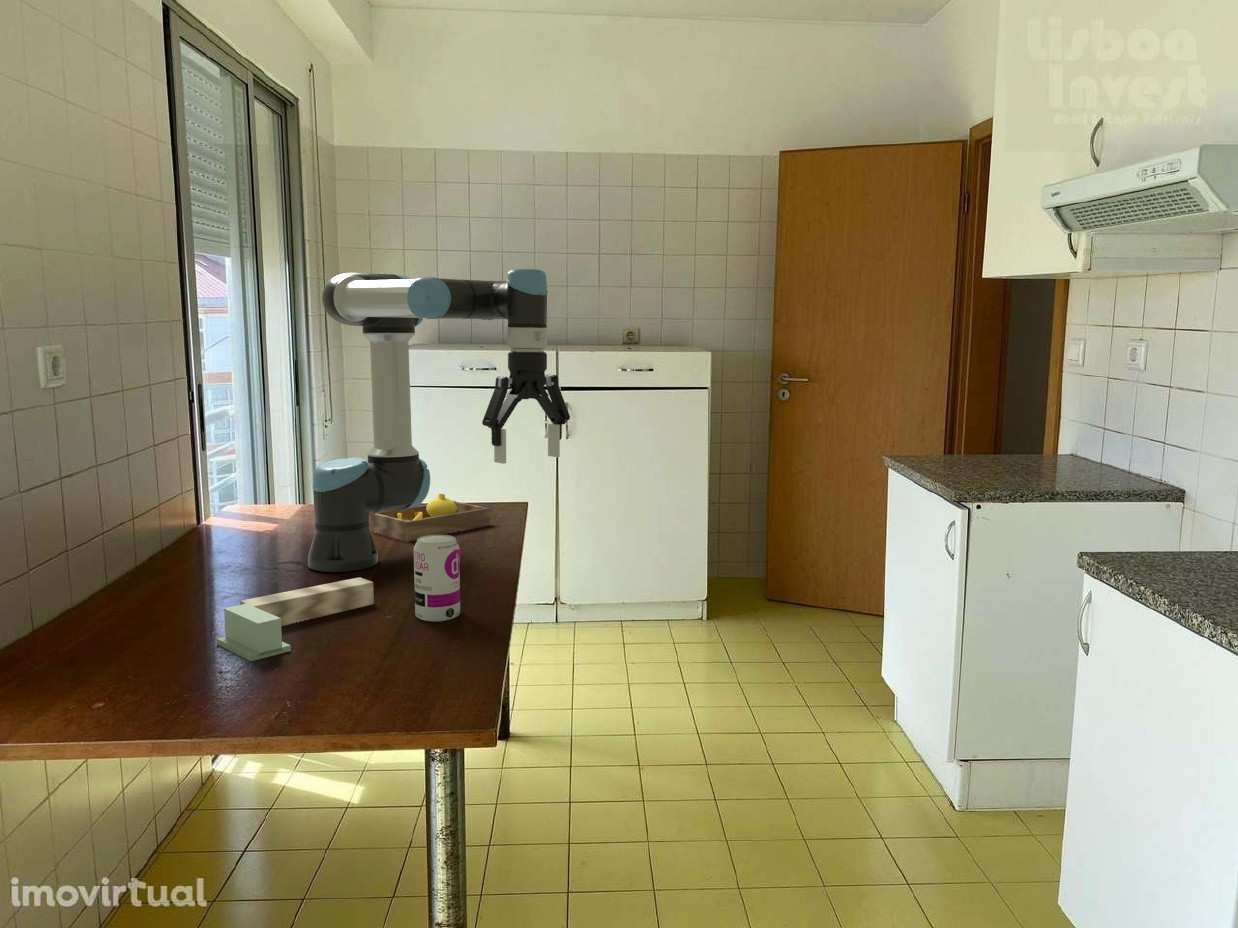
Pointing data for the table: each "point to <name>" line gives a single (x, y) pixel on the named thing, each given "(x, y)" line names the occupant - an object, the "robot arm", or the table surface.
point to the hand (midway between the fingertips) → (527, 459)
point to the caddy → (428, 522)
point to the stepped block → (252, 633)
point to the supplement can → (437, 578)
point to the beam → (316, 600)
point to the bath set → (436, 508)
